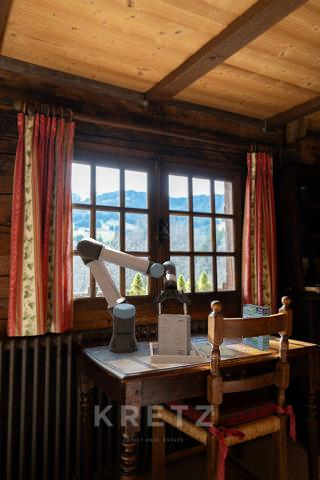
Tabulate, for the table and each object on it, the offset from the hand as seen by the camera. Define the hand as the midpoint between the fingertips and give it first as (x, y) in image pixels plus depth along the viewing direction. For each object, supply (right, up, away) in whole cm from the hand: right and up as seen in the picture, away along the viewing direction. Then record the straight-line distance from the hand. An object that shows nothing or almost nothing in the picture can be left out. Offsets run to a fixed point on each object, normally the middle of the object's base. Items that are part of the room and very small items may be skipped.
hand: (172, 314), depth 189 cm
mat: (+23, -20, +1) cm, 30 cm away
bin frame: (0, -19, -7) cm, 20 cm away
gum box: (+47, -21, +15) cm, 54 cm away
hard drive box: (0, -19, -7) cm, 20 cm away
